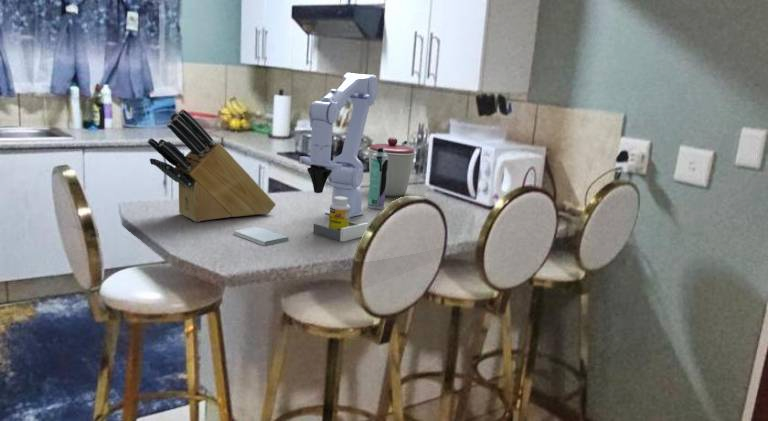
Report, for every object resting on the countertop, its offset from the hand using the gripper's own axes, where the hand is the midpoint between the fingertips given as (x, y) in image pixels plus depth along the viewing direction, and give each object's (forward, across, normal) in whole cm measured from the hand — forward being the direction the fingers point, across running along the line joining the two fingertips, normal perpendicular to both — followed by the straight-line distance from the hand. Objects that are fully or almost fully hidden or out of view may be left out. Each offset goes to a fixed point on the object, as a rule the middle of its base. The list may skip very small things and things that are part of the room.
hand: (318, 192), depth 178 cm
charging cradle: (+10, +9, 0) cm, 13 cm away
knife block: (+10, -25, -17) cm, 32 cm away
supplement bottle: (+10, +9, 0) cm, 13 cm away
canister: (+10, -17, +56) cm, 59 cm away
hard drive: (+11, -1, -20) cm, 23 cm away
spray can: (+10, -6, +35) cm, 37 cm away
